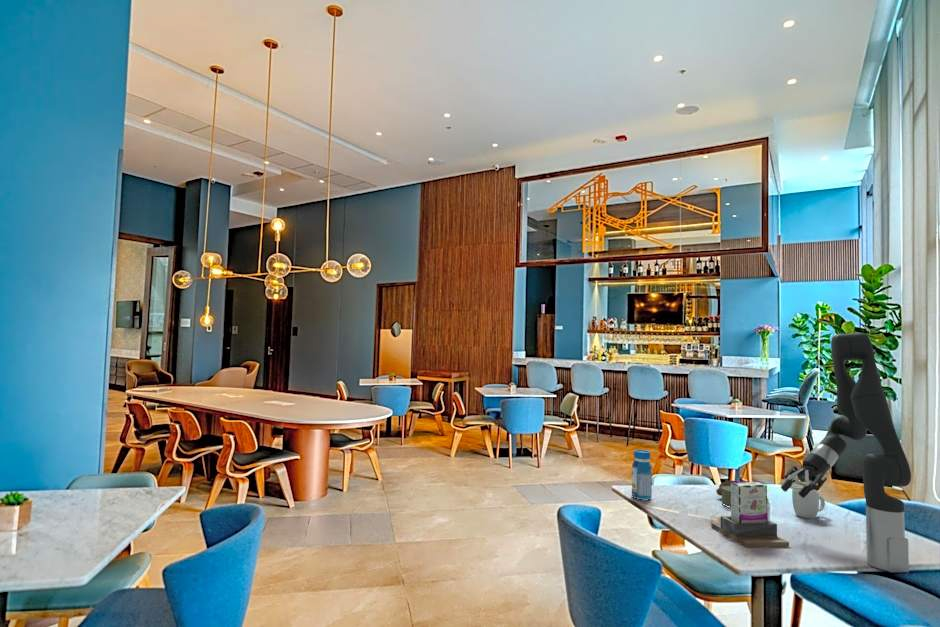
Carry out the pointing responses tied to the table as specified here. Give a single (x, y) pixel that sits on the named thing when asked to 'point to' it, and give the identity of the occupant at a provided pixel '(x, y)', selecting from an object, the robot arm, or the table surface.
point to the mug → (807, 503)
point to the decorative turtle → (726, 483)
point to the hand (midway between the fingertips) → (791, 492)
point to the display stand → (751, 533)
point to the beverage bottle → (641, 475)
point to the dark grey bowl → (726, 495)
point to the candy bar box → (749, 502)
